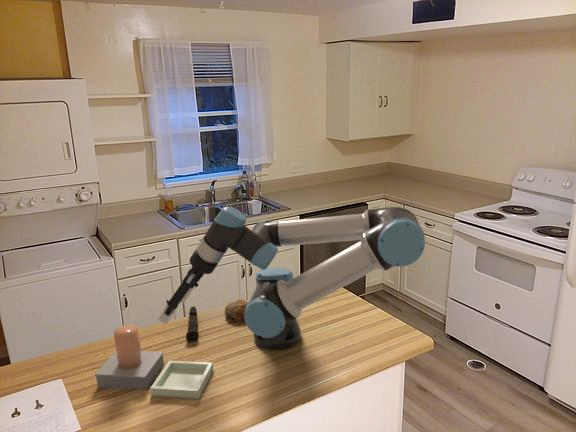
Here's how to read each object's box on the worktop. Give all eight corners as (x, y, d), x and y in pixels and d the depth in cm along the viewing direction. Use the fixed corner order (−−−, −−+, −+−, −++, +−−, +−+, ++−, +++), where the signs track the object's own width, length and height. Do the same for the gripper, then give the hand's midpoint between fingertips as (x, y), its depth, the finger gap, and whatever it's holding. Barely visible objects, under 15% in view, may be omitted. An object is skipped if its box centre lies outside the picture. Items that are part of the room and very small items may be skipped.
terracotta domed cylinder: (145, 356, 132) (142, 325, 129) (135, 369, 126) (131, 336, 123) (125, 355, 133) (120, 324, 130) (114, 368, 127) (109, 335, 124)
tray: (213, 370, 131) (212, 362, 131) (198, 399, 119) (198, 390, 118) (170, 368, 133) (169, 360, 133) (151, 396, 121) (150, 388, 120)
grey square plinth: (164, 364, 135) (163, 351, 134) (146, 390, 123) (144, 376, 122) (118, 362, 137) (117, 349, 136) (96, 387, 125) (94, 374, 124)
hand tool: (199, 342, 147) (198, 329, 146) (186, 343, 147) (185, 330, 146) (202, 315, 166) (201, 303, 164) (190, 316, 165) (189, 304, 164)
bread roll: (223, 327, 163) (216, 313, 159) (235, 305, 171) (229, 290, 166) (248, 331, 160) (242, 317, 155) (259, 308, 167) (253, 294, 162)
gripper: (209, 235, 141) (176, 286, 147) (180, 263, 117) (142, 323, 123) (230, 249, 141) (196, 299, 147) (204, 279, 117) (165, 339, 123)
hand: (171, 310), depth 135 cm, fingers open, 13 cm apart
